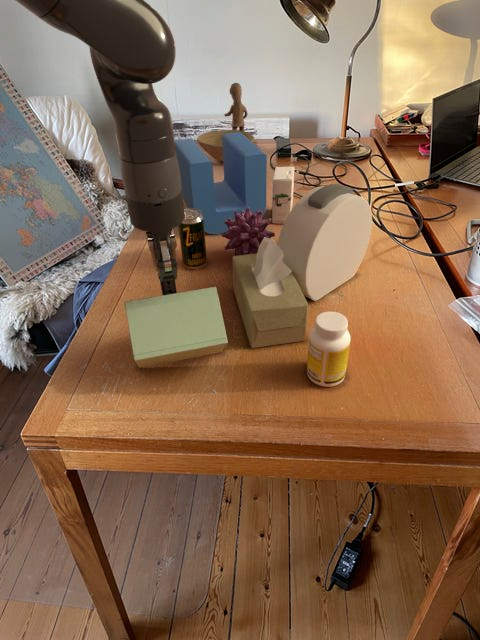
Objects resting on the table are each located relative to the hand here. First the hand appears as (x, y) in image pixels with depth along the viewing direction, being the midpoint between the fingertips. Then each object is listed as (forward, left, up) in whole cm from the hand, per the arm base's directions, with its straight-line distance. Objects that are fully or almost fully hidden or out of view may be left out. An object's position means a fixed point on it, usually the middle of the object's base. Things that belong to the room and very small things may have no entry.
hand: (169, 294), depth 71 cm
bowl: (+30, +89, -12) cm, 95 cm away
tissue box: (+18, +6, -12) cm, 22 cm away
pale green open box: (0, +1, -9) cm, 9 cm away
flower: (+20, +27, -12) cm, 36 cm away
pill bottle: (+22, -12, -12) cm, 28 cm away
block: (+19, +49, -12) cm, 54 cm away
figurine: (+38, +104, -12) cm, 111 cm away
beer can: (+8, +28, -12) cm, 31 cm away
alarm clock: (+32, +13, -12) cm, 36 cm away
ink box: (+34, +44, -12) cm, 57 cm away
